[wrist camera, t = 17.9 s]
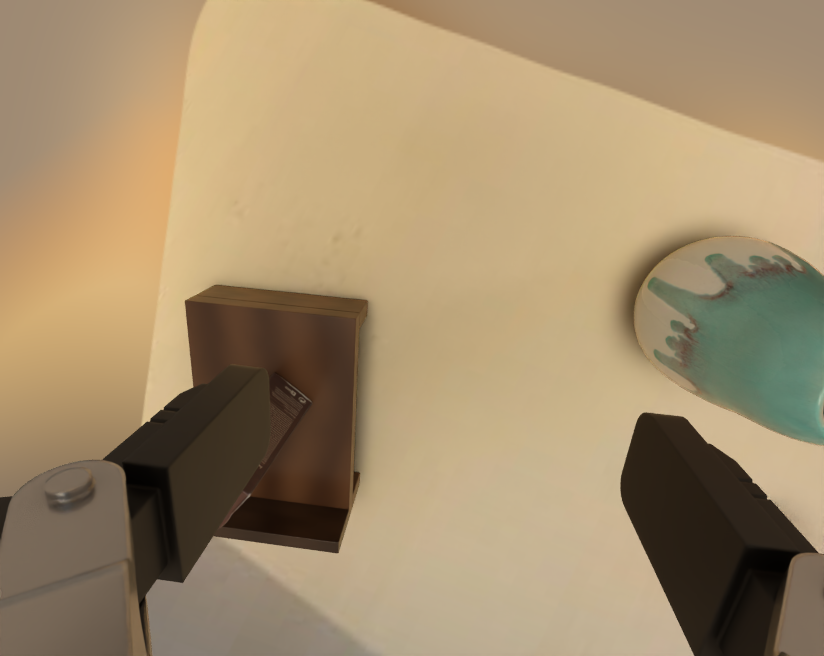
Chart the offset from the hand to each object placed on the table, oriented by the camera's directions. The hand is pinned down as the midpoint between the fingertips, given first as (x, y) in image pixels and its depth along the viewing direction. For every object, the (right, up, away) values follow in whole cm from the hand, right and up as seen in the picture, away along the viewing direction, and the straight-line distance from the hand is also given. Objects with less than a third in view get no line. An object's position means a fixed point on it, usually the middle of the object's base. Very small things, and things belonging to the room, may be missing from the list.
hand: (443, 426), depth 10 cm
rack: (-12, -4, +35) cm, 37 cm away
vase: (+22, +5, +28) cm, 37 cm away
